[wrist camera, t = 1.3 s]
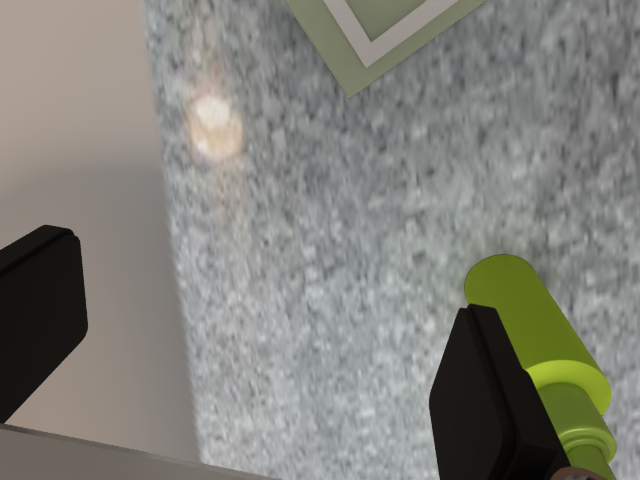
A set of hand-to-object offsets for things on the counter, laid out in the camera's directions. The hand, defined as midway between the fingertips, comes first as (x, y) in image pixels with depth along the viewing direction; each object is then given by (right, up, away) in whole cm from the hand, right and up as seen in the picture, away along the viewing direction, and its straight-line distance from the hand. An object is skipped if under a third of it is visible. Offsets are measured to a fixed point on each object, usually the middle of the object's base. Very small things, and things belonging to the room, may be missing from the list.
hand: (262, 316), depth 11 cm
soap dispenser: (+16, -2, +27) cm, 32 cm away
